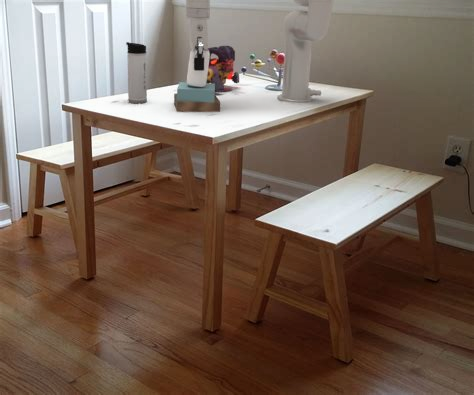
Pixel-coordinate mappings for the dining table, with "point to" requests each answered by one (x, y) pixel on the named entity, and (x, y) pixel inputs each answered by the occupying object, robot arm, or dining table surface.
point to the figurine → (222, 68)
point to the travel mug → (137, 73)
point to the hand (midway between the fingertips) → (197, 67)
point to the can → (198, 76)
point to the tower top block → (195, 93)
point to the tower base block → (197, 106)
